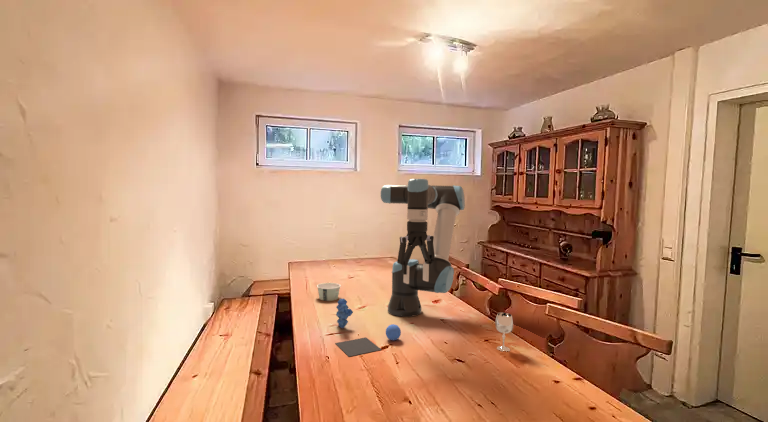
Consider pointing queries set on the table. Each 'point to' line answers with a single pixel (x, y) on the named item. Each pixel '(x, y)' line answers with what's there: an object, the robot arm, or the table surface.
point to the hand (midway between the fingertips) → (416, 281)
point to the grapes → (343, 313)
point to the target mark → (357, 347)
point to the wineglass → (504, 327)
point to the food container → (328, 291)
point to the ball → (393, 332)
